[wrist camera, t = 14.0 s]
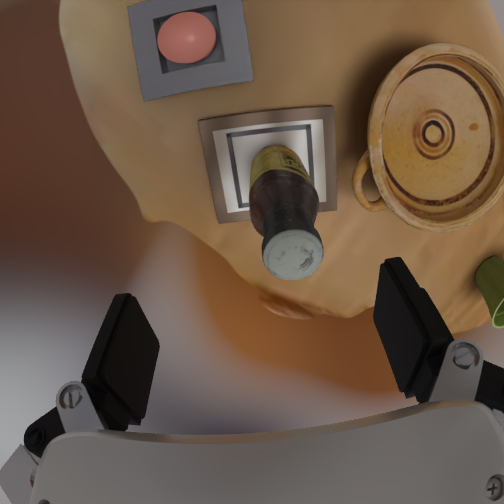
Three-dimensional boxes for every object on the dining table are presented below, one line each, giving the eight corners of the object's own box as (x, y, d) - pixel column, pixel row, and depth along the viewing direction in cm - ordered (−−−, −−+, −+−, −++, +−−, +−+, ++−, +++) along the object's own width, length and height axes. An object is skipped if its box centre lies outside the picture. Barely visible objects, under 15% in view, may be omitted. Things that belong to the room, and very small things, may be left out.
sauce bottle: (309, 175, 37) (357, 276, 20) (265, 197, 38) (278, 311, 22) (285, 130, 34) (322, 201, 17) (238, 155, 35) (230, 246, 19)
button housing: (239, -11, 24) (238, -20, 21) (253, 79, 31) (253, 80, 28) (139, 11, 25) (127, 6, 22) (154, 98, 32) (144, 101, 29)
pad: (331, 105, 33) (334, 106, 32) (334, 206, 41) (337, 211, 39) (199, 119, 34) (197, 121, 33) (219, 219, 42) (218, 224, 40)
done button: (213, 11, 24) (210, 6, 22) (220, 58, 27) (218, 57, 25) (161, 23, 25) (153, 19, 22) (169, 68, 28) (162, 68, 25)
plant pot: (512, 243, 44) (543, 277, 35) (494, 287, 51) (518, 322, 42) (477, 247, 45) (509, 285, 36) (458, 294, 52) (483, 333, 42)
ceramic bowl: (375, 241, 44) (394, 273, 37) (292, 102, 33) (303, 111, 26) (508, 155, 34) (538, 174, 28) (460, 17, 23) (497, 16, 17)
